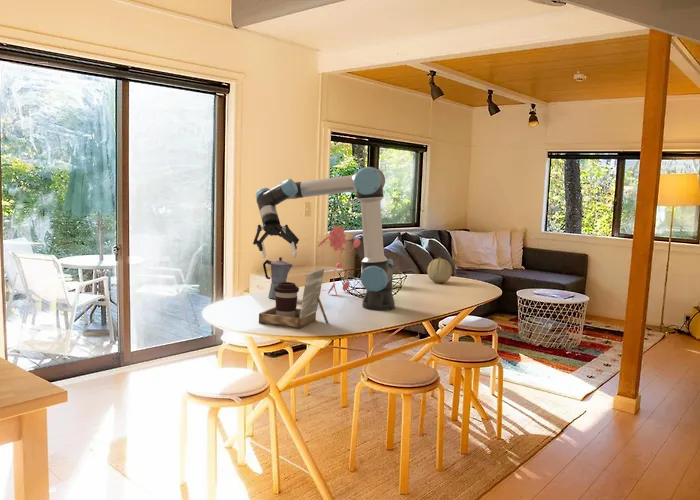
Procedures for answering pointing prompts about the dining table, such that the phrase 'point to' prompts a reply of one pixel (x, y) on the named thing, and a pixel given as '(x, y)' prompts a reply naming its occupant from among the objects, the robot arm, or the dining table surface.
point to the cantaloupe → (439, 270)
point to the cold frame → (307, 309)
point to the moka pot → (277, 274)
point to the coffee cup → (286, 299)
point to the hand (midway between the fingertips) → (280, 256)
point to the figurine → (337, 240)
